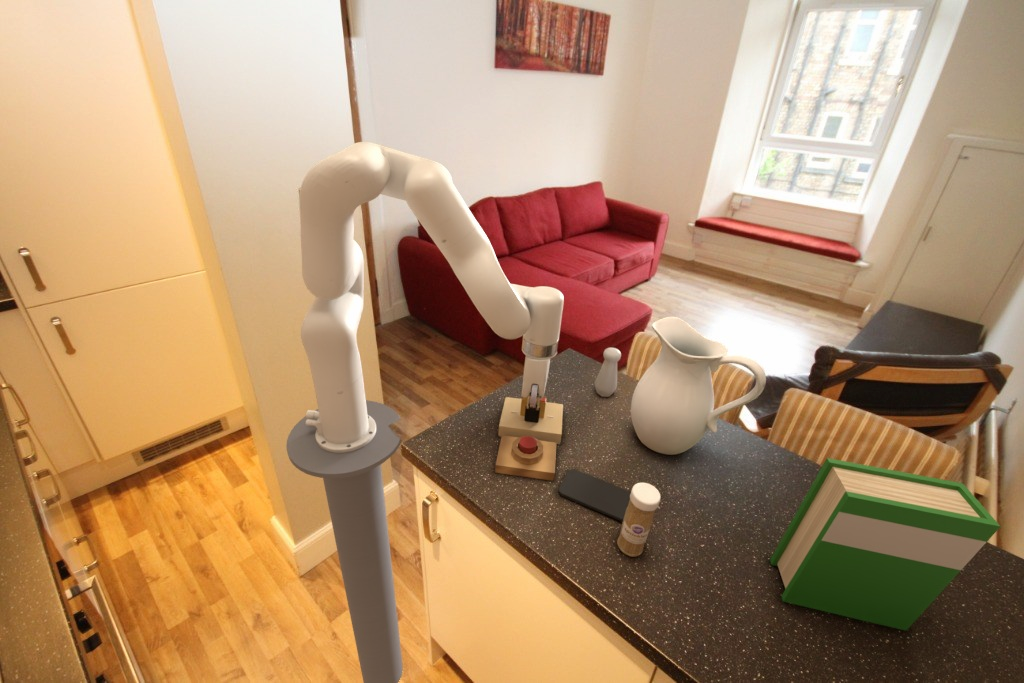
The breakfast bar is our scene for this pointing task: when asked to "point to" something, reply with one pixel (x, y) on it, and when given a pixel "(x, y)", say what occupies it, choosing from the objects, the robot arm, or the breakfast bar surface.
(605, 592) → the breakfast bar surface
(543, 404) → the red-tipped yellow block
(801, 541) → the hardback book
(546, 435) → the dial plate
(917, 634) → the breakfast bar surface
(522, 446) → the bell button
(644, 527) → the sprinkles bottle
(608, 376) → the salt shaker
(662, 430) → the pitcher
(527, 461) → the wooden button base
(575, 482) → the phone
